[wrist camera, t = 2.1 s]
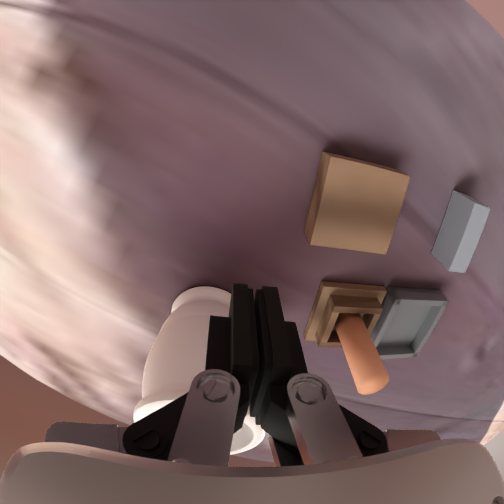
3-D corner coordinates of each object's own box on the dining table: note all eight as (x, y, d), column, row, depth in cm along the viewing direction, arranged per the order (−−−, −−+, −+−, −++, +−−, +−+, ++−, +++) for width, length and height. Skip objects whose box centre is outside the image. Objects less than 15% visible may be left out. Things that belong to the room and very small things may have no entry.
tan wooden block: (320, 150, 25) (330, 156, 22) (395, 168, 26) (410, 176, 23) (303, 230, 29) (310, 244, 26) (374, 240, 29) (385, 254, 27)
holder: (321, 281, 31) (328, 297, 28) (383, 286, 32) (393, 301, 29) (303, 335, 35) (307, 352, 32) (360, 336, 36) (367, 352, 33)
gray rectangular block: (453, 189, 26) (474, 202, 23) (469, 195, 27) (490, 208, 23) (430, 253, 30) (448, 270, 27) (447, 255, 30) (464, 272, 27)
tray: (387, 286, 32) (395, 299, 30) (439, 290, 33) (448, 301, 31) (358, 346, 37) (364, 360, 34) (409, 344, 38) (416, 356, 35)
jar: (274, 316, 33) (292, 434, 20) (212, 358, 36) (207, 464, 23) (204, 257, 29) (183, 382, 16) (145, 311, 32) (110, 423, 19)
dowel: (337, 305, 32) (365, 374, 23) (362, 306, 32) (394, 372, 23) (329, 326, 33) (352, 395, 24) (353, 327, 33) (380, 392, 25)
